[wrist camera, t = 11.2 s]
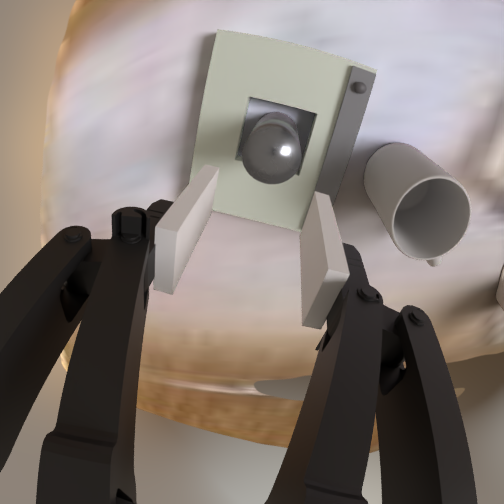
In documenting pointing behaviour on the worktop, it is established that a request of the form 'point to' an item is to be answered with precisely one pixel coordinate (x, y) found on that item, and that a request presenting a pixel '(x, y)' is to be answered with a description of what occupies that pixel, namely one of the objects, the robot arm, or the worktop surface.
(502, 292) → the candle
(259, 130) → the grey metal cylinder
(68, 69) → the worktop surface
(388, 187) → the mug
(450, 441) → the robot arm
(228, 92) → the plate
